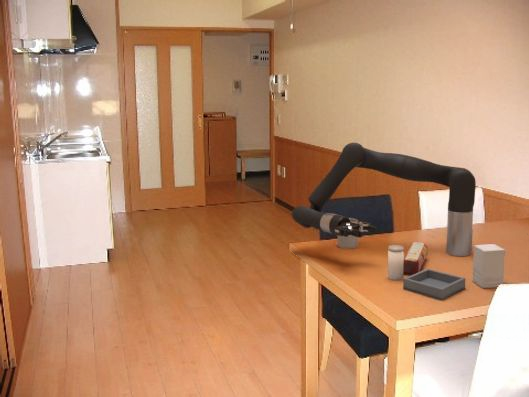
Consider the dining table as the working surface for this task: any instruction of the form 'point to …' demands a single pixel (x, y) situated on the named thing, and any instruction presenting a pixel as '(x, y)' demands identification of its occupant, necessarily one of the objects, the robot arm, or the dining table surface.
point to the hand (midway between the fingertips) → (369, 232)
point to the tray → (434, 284)
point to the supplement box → (488, 265)
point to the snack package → (415, 258)
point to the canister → (395, 262)
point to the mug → (348, 239)
